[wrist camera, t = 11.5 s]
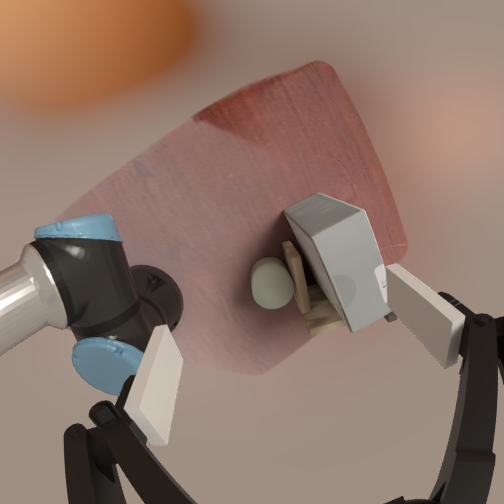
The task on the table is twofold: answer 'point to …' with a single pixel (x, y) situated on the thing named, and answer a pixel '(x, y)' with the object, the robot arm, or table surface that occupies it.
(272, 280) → the pale green rounded part
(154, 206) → the table surface
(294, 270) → the shelf bay
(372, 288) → the hard drive box
